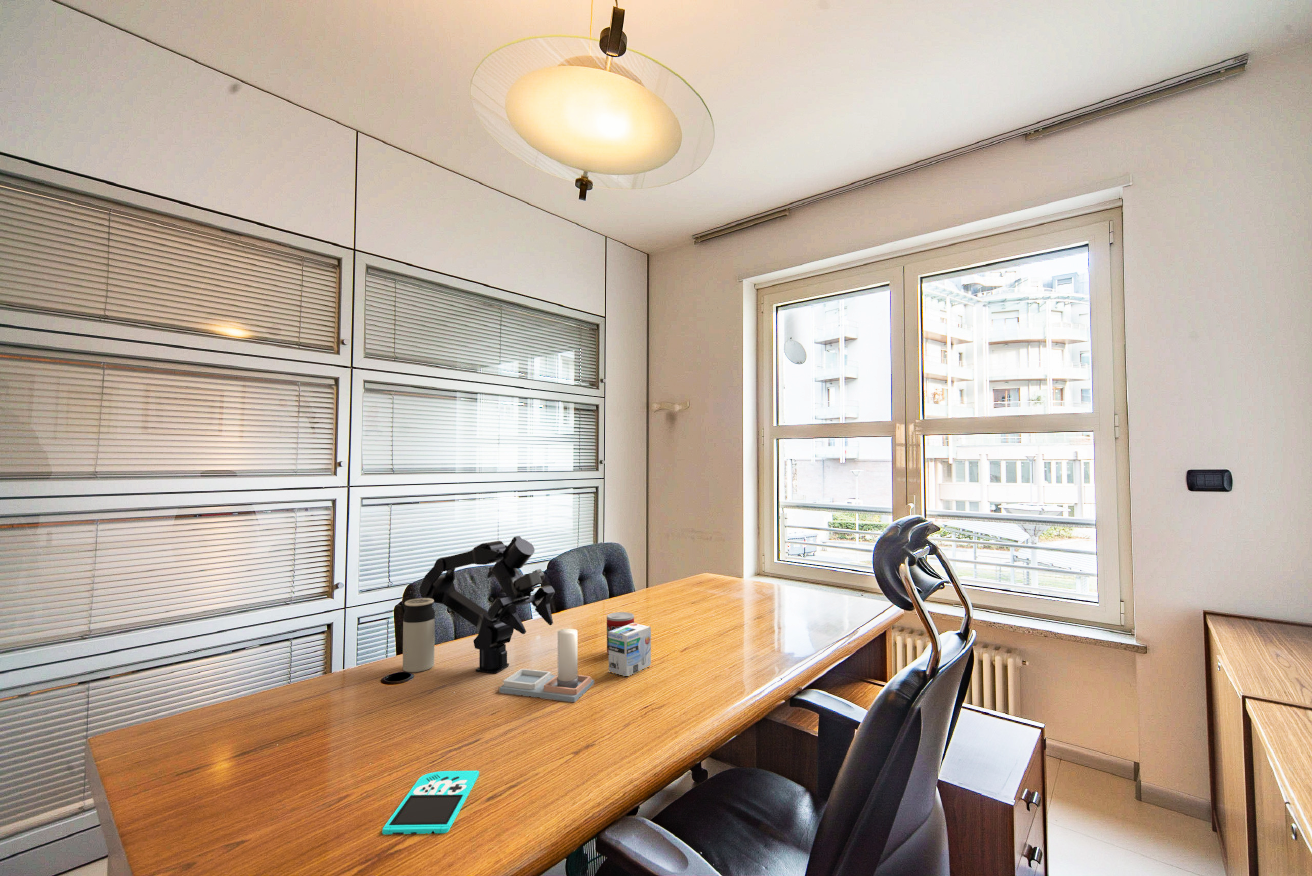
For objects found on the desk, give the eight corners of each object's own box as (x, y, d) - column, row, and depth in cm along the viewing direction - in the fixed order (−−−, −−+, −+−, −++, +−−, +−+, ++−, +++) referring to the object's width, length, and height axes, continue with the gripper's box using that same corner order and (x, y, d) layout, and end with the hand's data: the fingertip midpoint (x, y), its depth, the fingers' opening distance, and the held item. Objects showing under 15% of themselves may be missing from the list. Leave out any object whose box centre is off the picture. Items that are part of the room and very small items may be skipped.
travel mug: (426, 673, 148) (427, 604, 149) (397, 673, 148) (398, 604, 149) (438, 662, 156) (439, 597, 157) (410, 662, 156) (411, 597, 157)
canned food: (603, 651, 164) (603, 613, 164) (628, 647, 167) (628, 610, 168) (612, 659, 157) (612, 620, 157) (638, 655, 160) (638, 616, 161)
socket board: (499, 692, 134) (499, 682, 135) (523, 676, 145) (523, 666, 145) (574, 702, 128) (574, 691, 128) (594, 684, 139) (594, 674, 139)
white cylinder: (555, 690, 132) (555, 634, 133) (558, 682, 137) (558, 628, 138) (576, 689, 133) (576, 634, 133) (579, 681, 138) (578, 628, 138)
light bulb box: (626, 678, 143) (626, 635, 144) (607, 672, 147) (607, 631, 148) (652, 666, 151) (651, 626, 152) (633, 661, 156) (632, 622, 156)
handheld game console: (480, 777, 99) (480, 769, 99) (448, 837, 83) (448, 827, 83) (423, 777, 98) (424, 769, 99) (380, 838, 82) (380, 828, 83)
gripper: (495, 565, 138) (525, 617, 131) (550, 555, 153) (580, 601, 146) (475, 594, 142) (503, 645, 135) (530, 581, 157) (558, 627, 150)
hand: (538, 628), depth 142 cm, fingers open, 9 cm apart
